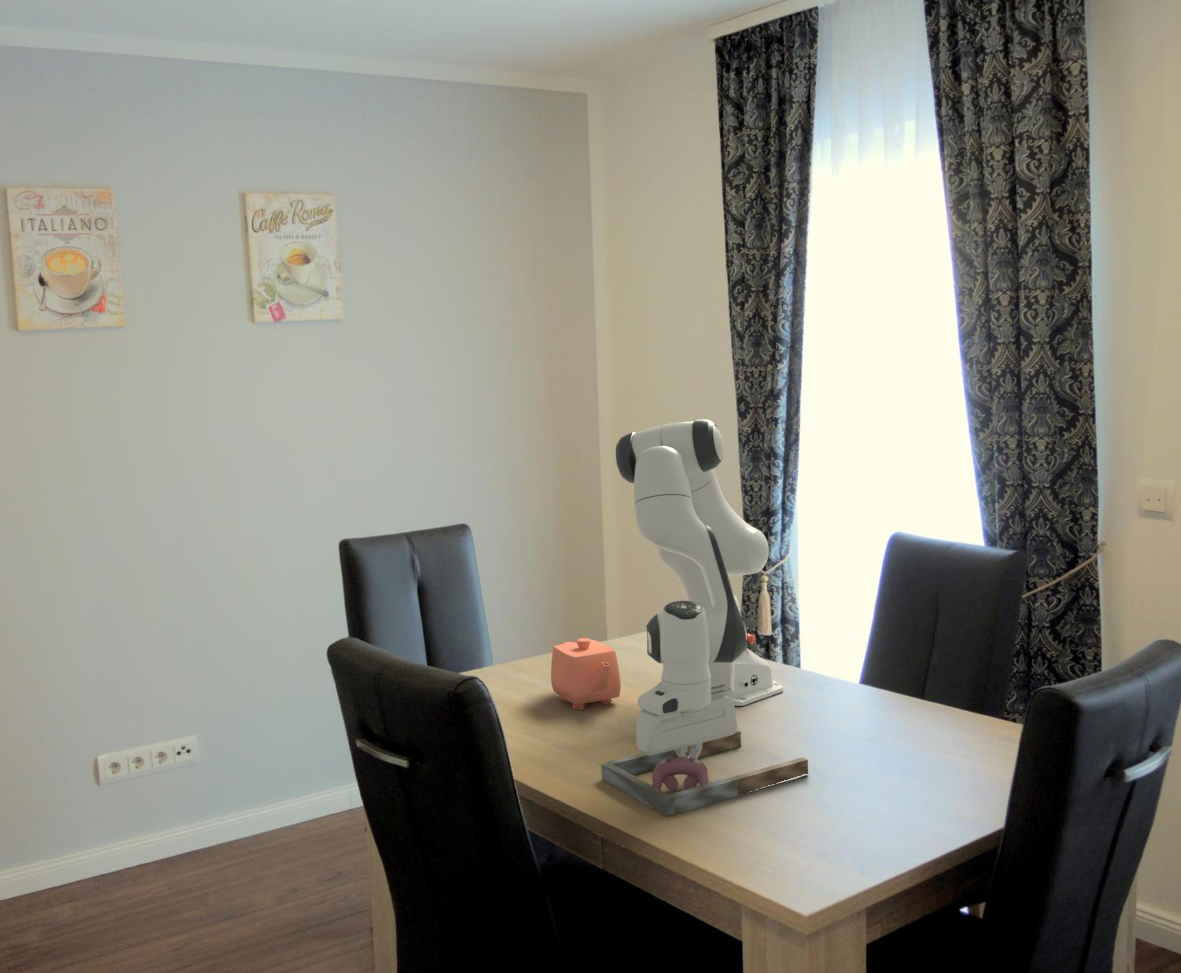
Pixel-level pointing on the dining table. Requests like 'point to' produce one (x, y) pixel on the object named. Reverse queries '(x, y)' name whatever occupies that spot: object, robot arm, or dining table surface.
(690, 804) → the u-shaped rail frame
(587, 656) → the teapot
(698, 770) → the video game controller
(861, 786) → the dining table surface
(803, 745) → the dining table surface
